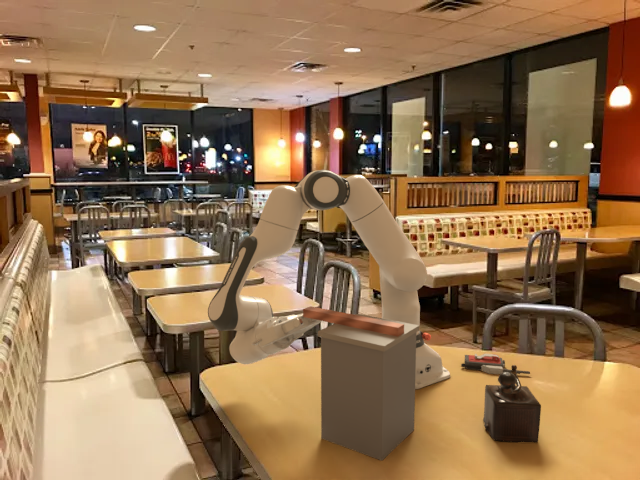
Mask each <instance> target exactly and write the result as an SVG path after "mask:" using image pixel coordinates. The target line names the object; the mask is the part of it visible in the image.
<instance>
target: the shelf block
mask: <svg viewBox="0 0 640 480" xmlns="http://www.w3.org/2000/svg"><path fill="white" fill-rule="evenodd" d="M354 315H358V316H363V317H369V318H374V319H379V320H384V321H389V322H395V323H400V324H404V333H403V334H401V335H400V336H398V337H397V336H393V335H388V334H383V333H378V332H373V331H369V330H364V329H359V328H354V327H349V326H345V325H340V324H335V323H332V324H331V325H328V326H327V327H324V328H322V329H319V330H317V337H319V338H320V386H321V387H320V389H321V391H320V399H321V400H320V401H321V402H320V405H321V406H320V407H321V408H320V413H321V415H320V418H321V419H320V420H321V421H320V422H321V426H320V427H321V429H320V431H321V432H320V435H321V439H322V440H324V441H327V442H330V443H332V444H335V445H338V446H341V447H344V448H346V449H349V450H352V451H353V452H357V453H360V454H363V455H365V456H368V457H371V458H374V459H377V460H379V461H383V460H384V459H385V458H386V457H388V455H389V454H391V453H392V452H393V451H394V449H396V448H397V447H398V446H399V445H400V444H401V443H403V442H404V440H406V438H407V437H408V436H410V434H411V433H413V431H415V408H416V407H415V406H416V389H415V371H416V332H418V331H420V324H419V325H414V324H409V323H404V322H399V321H393V320H388V319H383V318H382V317H378V316H372V315H368V314H367V315H366V314H360V313H355V314H354Z"/></svg>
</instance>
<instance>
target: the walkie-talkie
mask: <svg viewBox="0 0 640 480" xmlns="http://www.w3.org/2000/svg"><path fill="white" fill-rule="evenodd" d="M460 365H461V367H462V368H464V369H466V370H473V371H482V372H484V373H486V374H491V375H499V374H500V373H503V372H511V370H512V369H507V368H505V367H506V360H504V359H503V357H500V356H499V354H496V353H483V354H480V355H478V354H477V353H474V355H473V354H472V355H471V354H464V363H461V364H460ZM516 371H517V372H516V373H517V375H520V374H525V375H531V372H530V371H528V370H520V369H519V370H518V369H516Z"/></svg>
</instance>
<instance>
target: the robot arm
mask: <svg viewBox="0 0 640 480" xmlns="http://www.w3.org/2000/svg"><path fill="white" fill-rule="evenodd" d="M337 207H339V208H340V209H341V210H342V211H343V212H344V214H345V215H346V216H347V218H348V220H349V221H350V223H351V225H352V226H353V228H354V229H355V232H356V233H357V234H358V236H359V238H360V239H361V241H362V242H363V244H364V246H365V247H366V248H367V250H368V251H369V253H370V254H371V257H373V259H374V260H375V262H376V263H377V265H378V267H379V268H378V269H379V285H380V287H379V288H380V299H381V318H383V319H388V320H393V321H399V322H404V323H409V324H414V325H419V326H420V322H421V321H420V320H421V319H420V318H421V317H420V316H421V315H420V312H421V305H420V302H419V301H420V300H419V296H418V291H419V289H421V288H422V287H423V286H424V285H425V283H426V281H427V280H428V279H427V278H428V271H427V266H426V264H425V262H424V261H423V259H422V258H421V256H420V255H419V253H418V252H417V250H416V248H415V247H414V245H413V244H412V243H411V241H410V239H409V238H408V237H407V235H406V234H405V233H404V231H403V229H402V228H401V226H400V225H399V223H398V222H397V221H396V219H395V218H394V216H393V214H392V212H391V210H390V209H389V207H388V206H387V205H386V203H385V201H384V199H383V198H382V195H380V194H379V192H378V191H377V189H376V188H375V187H374V186H373V183H371V182H370V181H369V180H368V179H367V178H366V177H365V176H363V175H361V174H353V175H349V176H348V177H346V178H344V177H343V176H341V175H338V174H337V173H335V172H333V171H330V170H328V169H320V170H319V169H317V170H314V171H311V172H308V174H307V175H305V176H304V177H303V178H302V179H300V181H299V182H297V184H295V185H294V186H291V185H287V184H286V185H285V184H284V185H283V184H281V185H277V186H275V187H274V188H273V189H272V190H271V191H270V193H269V195H268V197H267V200H266V202H265V204H264V207H263V208H262V211H261V214H260V217H259V221H258V223H257V225H256V226H255V229H254V230H253V232H252V233H251V234H250V235H249V236H248V237H246V238H244V239H243V241H242V242H241V243H240V244H239V246H238V248H237V250H236V252H235V254H234V256H233V258H232V260H231V263H230V265H229V267H228V269H227V271H226V273H225V275H224V278H223V280H222V282H221V284H220V286H219V289H218V290H217V291H216V293H215V295H214V296H213V297H212V299H211V301H210V303H209V305H208V308H207V315H208V316H207V317H208V319H209V321H210V323H211V324H212V326H213V327H214V328H215V329H216V330H217V331H219V332H220V331H221V332H223V331H224V332H225V331H228V332H229V331H236V333H235V337H234V338H233V339H232V341H231V343H230V344H229V347H228V349H229V354H230V356H231V358H232V359H234V361H235V362H237V363H239V364H241V365H251V364H254V363H257V362H259V361H262V360H264V359H266V358H268V357H269V356H270V355H272V356H273V355H276V354H277V353H279V352H281V351H284V350H285V349H288V348H289V347H290V346H291V345H292V344H293V343H294V342H295V341H296V340H298V339H301V337H303V336H304V333H306V332H308V331H310V330H311V329H313V328H314V327H316V326H317V325H319V324H320V323H321V322H322V321H321V320H316V319H311V318H306V317H303V312H302V313H298V314H294V313H293V314H290V315H289V314H288V315H286V316H274V311H273V308H272V306H271V304H270V302H269V301H268V300H267V299H266V298H265V297H258V296H253V295H252V296H251V295H242V294H241V292H242V290H243V287H244V285H245V283H246V281H247V279H248V277H249V275H250V272H251V271H252V269H253V268H254V267H255V266H256V265H257V264H258V263H260V262H262V261H266V260H269V259H273V258H278V257H281V256H282V255H285V254H286V253H287V252H289V251H290V250H291V249H292V247H293V245H294V244H295V241H296V239H297V234H298V232H299V231H298V230H299V228H300V224H301V221H302V219H303V217H304V215H305V214H306V212H308V211H309V210H314V211H327V210H331V209H335V208H337ZM431 339H432V335H431V334H430V333H428V332H423V331H421V330H419V331H418V332H416V371H415V390H420V389H422V388H425V387H426V386H430V385H433V384H435V383H439V382H441V381H444V380H447V379H450V378H451V373H450V371H449V370H448V369H447V368H446V367H444V365H443V360H442V356H440V353H438V352H437V351H436V350H434V348H432V347H430V346H429V344H426V343H425V341H427V342H429V341H430V340H431ZM424 340H425V341H424Z"/></svg>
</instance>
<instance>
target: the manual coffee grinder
mask: <svg viewBox="0 0 640 480" xmlns="http://www.w3.org/2000/svg"><path fill="white" fill-rule="evenodd" d="M510 370H511V372H503V373H500V375H499V374H498V375H499V376H498V378H497V382H498V384H486V385H485V387H484V404H483V405H484V408H483V419H482V421H483V423H484V428H485V430H486V432H488V434H489V435H490V437H491V438H492V439H493V440H494V441H496V442H502V443H518V442H534V443H538V442H539V433H540V423H541V415H542V414H541V412H542V404H541V403H540V402H539V401H538V399H537V397H535V395H534V394H533V393H532V391H531V390H530V389H529V388H528V386H527V385H526V386H525V385H522V384H521V381H520V379H519V376H518V374H517V373H516V372H517V371H516V370H518V367H517V365H515V364H512V365H511V369H510ZM499 384H500V385H499Z"/></svg>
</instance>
